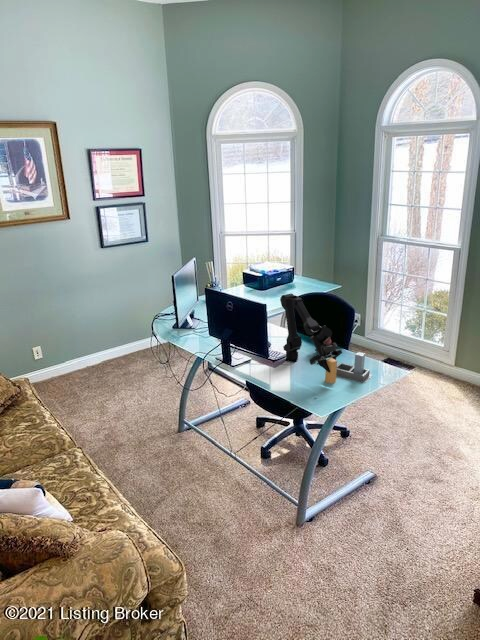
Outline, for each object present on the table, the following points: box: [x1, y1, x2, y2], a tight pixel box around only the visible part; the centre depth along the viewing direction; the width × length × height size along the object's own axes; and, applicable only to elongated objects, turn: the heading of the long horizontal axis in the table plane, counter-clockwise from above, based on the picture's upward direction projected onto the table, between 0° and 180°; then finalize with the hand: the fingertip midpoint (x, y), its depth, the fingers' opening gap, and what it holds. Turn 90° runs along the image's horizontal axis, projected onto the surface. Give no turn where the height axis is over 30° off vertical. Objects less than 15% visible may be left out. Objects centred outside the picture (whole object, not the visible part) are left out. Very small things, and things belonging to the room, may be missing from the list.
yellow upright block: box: [324, 358, 338, 384], centre depth 249 cm, size 5×5×13 cm
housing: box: [336, 362, 373, 384], centre depth 258 cm, size 20×12×4 cm, turn 56°
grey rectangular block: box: [353, 351, 366, 375], centre depth 254 cm, size 5×5×13 cm
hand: (332, 371), depth 248 cm, fingers closed on yellow upright block, 4 cm apart
